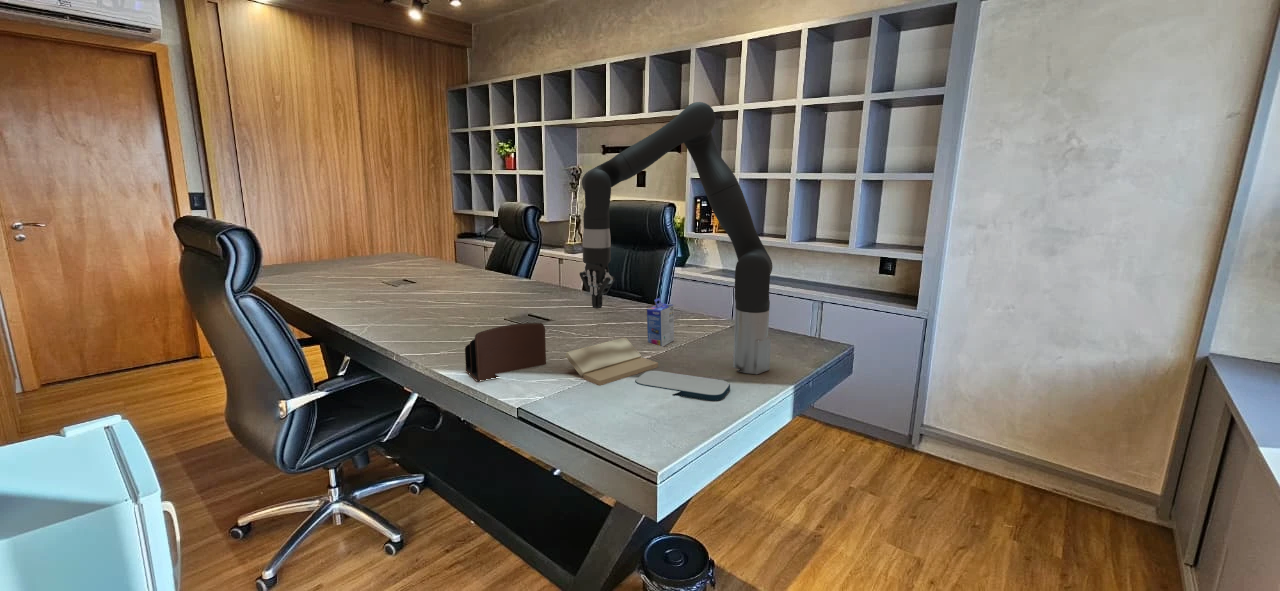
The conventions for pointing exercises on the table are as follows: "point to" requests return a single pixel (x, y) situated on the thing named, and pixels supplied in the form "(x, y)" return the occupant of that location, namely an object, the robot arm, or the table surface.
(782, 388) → the table surface
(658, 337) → the ink cartridge box
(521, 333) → the letter holder
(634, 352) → the ash plank
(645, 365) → the tan rectangular board
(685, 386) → the external hard drive
